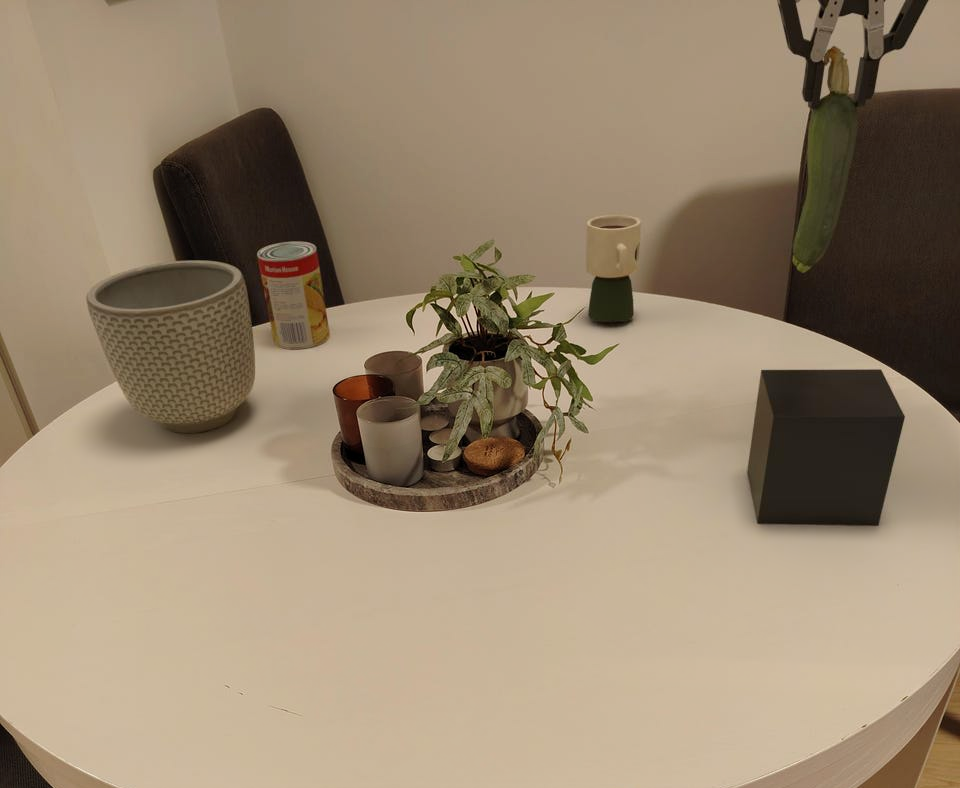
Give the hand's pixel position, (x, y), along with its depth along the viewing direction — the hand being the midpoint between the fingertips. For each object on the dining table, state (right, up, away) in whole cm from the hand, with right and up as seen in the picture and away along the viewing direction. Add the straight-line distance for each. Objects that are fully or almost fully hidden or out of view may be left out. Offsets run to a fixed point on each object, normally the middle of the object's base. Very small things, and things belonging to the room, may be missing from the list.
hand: (836, 105), depth 87 cm
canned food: (-58, -7, +46) cm, 74 cm away
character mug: (-15, -5, +45) cm, 48 cm away
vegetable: (+1, -12, +10) cm, 15 cm away
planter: (-67, -23, +27) cm, 76 cm away
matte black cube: (-1, -35, +5) cm, 36 cm away
